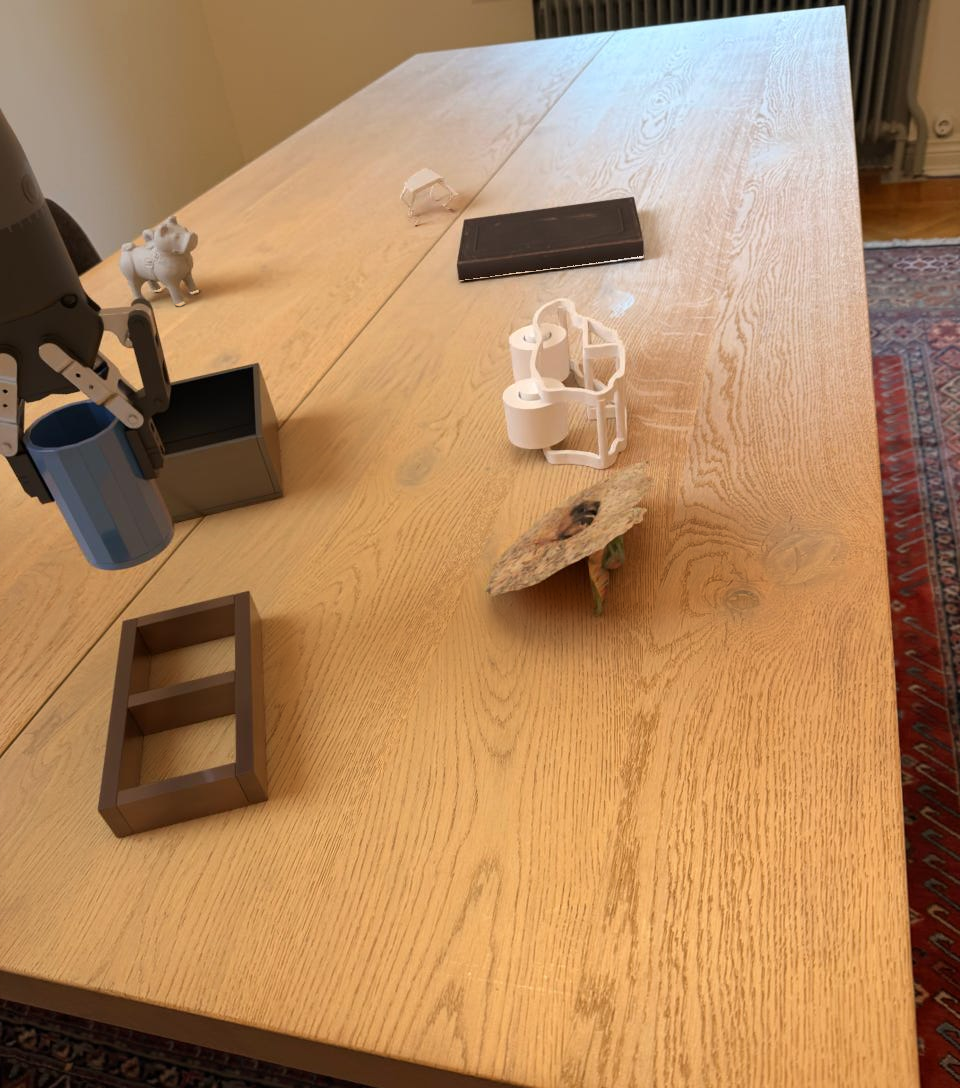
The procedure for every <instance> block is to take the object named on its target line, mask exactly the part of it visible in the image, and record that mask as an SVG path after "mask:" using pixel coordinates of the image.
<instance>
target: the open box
mask: <svg viewBox="0 0 960 1088" xmlns="http://www.w3.org/2000/svg"><path fill="white" fill-rule="evenodd" d="M170 383H171V392H170V401H169V407H168V409H167V410H166V411H164V412H157V413H155V414H154V415H153V416H151V418H152V420H153V423H154V425H155V427H156V430H157V432H158V435H159V437H160V439H161V442H162V444H163V446H164V449H165V454H164V465H163V468H160V472H159V478H156V479H154V480H155V482H156V484H157V486H158V489H159V491H160V493H161V496H162V498H163V500H164V502H165V505H166V507H167V509H168V511H169V514H170V516H171V518H172V522H173V524H175V523H179V522H183V521H188V520H191V519H196V518H201V517H204V516H209V515H213V514H218V513H221V512H226V511H230V510H234V509H235V510H236V509H239V508H243V507H247V506H251V505H256V504H259V502H260V503H263V502H264V503H265V502H269V501H273V500H277V499H280V498H284V485H283V473H282V459H281V448H280V436H279V435H280V433H279V424H278V423H279V422H278V418H277V414H276V411H275V408H274V405H273V402H272V399H271V396H270V392H269V390H268V387H267V383H266V380H265V377H264V375H263V372H262V369H261V365H260V362H255V363H250V364H246V365H241V366H237V367H233V368H228V369H224V370H220V371H215V372H210V373H206V374H203V375H202V374H201V375H198V376H194V377H189V378H185V379H180V380H175V381H170ZM137 390H138V391H139V390H140V389H137Z"/></svg>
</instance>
